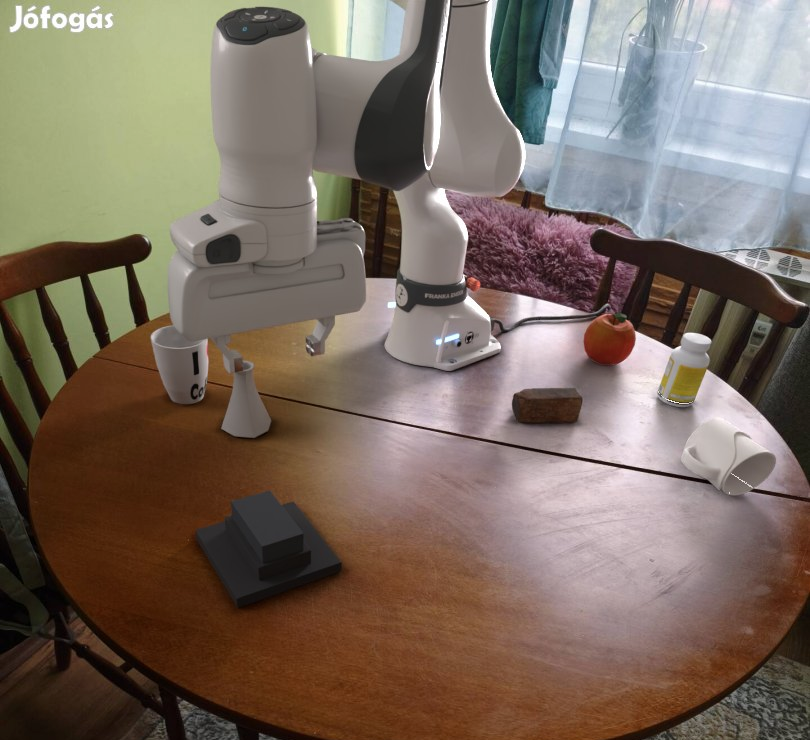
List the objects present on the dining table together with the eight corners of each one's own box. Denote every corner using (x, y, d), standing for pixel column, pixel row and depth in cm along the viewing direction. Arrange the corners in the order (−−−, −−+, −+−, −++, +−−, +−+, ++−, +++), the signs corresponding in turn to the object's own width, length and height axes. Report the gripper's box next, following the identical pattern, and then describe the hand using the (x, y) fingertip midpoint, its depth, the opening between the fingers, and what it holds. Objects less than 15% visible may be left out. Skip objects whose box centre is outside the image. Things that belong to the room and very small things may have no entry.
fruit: (620, 351, 138) (635, 301, 131) (633, 373, 131) (650, 322, 124) (573, 347, 137) (586, 297, 131) (584, 369, 130) (599, 318, 123)
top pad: (270, 506, 85) (270, 490, 83) (303, 550, 79) (303, 533, 78) (232, 517, 82) (230, 501, 81) (263, 563, 77) (262, 546, 75)
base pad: (293, 510, 90) (293, 501, 89) (341, 571, 82) (341, 562, 81) (196, 539, 84) (194, 529, 83) (237, 608, 76) (236, 598, 75)
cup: (200, 413, 106) (193, 352, 99) (150, 403, 107) (140, 342, 100) (221, 388, 112) (216, 330, 106) (174, 380, 113) (166, 321, 106)
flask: (279, 420, 106) (277, 360, 100) (256, 443, 101) (253, 382, 94) (237, 409, 108) (232, 349, 101) (212, 431, 102) (206, 369, 96)
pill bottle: (699, 408, 122) (725, 346, 115) (666, 409, 121) (690, 347, 113) (681, 390, 127) (704, 330, 120) (649, 391, 126) (671, 330, 118)
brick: (569, 411, 117) (575, 386, 114) (577, 423, 114) (584, 398, 111) (509, 412, 115) (514, 386, 112) (516, 424, 112) (521, 398, 109)
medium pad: (275, 514, 87) (274, 502, 85) (311, 563, 81) (311, 550, 79) (225, 529, 84) (224, 516, 82) (259, 580, 78) (258, 567, 76)
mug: (718, 457, 110) (738, 413, 105) (762, 490, 104) (786, 446, 99) (659, 469, 106) (677, 424, 101) (701, 505, 100) (723, 459, 94)
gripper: (350, 206, 71) (346, 332, 81) (151, 226, 62) (172, 366, 71) (381, 226, 68) (374, 356, 77) (175, 250, 58) (194, 395, 68)
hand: (275, 361), depth 74 cm, fingers open, 8 cm apart
